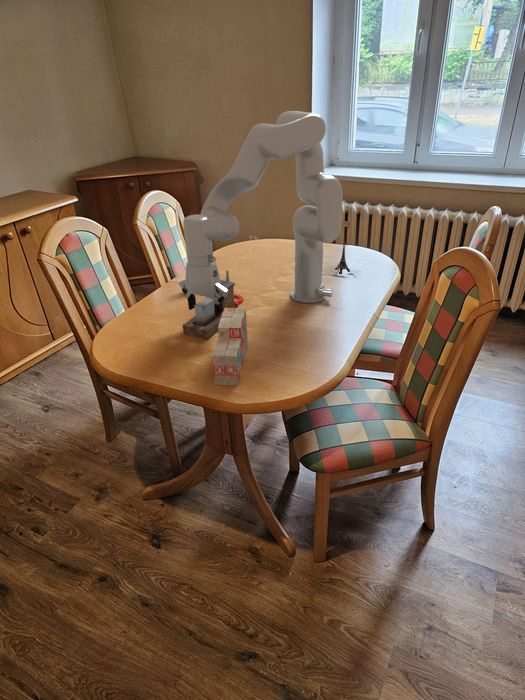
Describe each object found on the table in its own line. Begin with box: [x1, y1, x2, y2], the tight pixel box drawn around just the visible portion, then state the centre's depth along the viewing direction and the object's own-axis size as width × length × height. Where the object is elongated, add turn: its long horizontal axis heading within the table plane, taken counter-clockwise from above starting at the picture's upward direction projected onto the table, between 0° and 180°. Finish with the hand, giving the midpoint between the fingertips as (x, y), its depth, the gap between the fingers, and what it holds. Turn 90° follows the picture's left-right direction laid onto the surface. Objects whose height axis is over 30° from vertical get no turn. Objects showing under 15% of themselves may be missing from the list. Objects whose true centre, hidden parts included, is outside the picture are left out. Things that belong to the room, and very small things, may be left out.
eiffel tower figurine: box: [334, 240, 351, 274], centre depth 180 cm, size 15×10×13 cm
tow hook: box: [225, 270, 244, 308], centre depth 159 cm, size 8×13×9 cm
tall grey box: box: [194, 297, 217, 327], centre depth 144 cm, size 3×7×9 cm, turn 151°
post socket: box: [182, 279, 236, 341], centre depth 146 cm, size 9×19×11 cm, turn 152°
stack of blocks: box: [212, 307, 249, 386], centre depth 125 cm, size 21×6×12 cm, turn 175°
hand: (205, 311), depth 143 cm, fingers open, 9 cm apart
